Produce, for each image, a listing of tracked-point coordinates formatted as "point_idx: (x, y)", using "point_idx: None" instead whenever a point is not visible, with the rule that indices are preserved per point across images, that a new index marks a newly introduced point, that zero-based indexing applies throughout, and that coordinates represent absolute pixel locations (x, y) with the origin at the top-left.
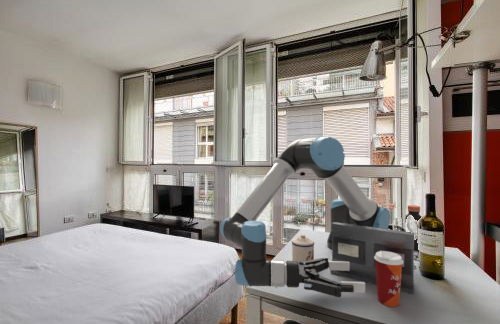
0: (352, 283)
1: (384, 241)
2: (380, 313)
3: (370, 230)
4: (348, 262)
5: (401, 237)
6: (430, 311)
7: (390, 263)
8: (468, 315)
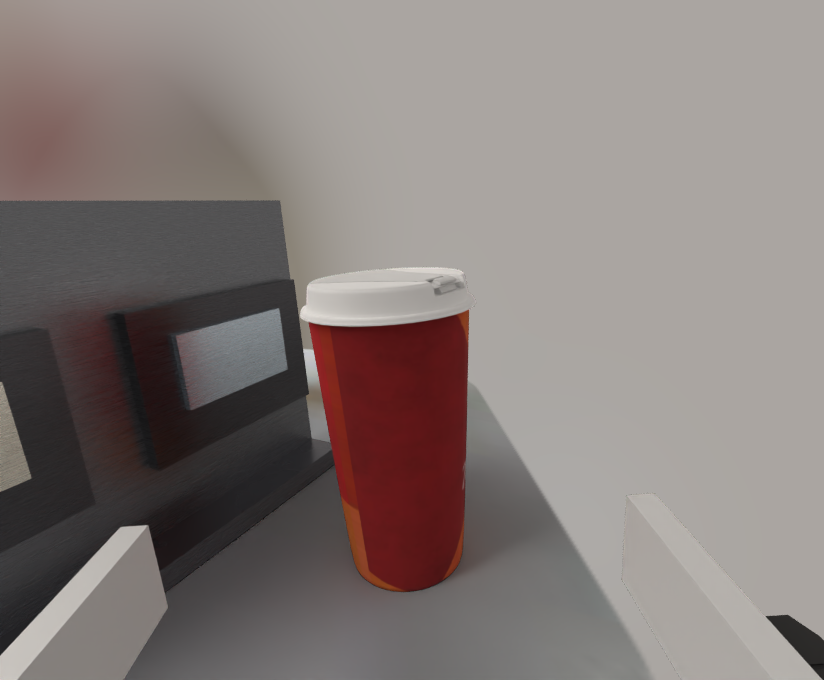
0: (742, 599)
1: (171, 273)
2: (556, 622)
3: (59, 213)
4: (141, 533)
5: (240, 224)
6: (466, 453)
7: (467, 299)
8: (467, 403)
